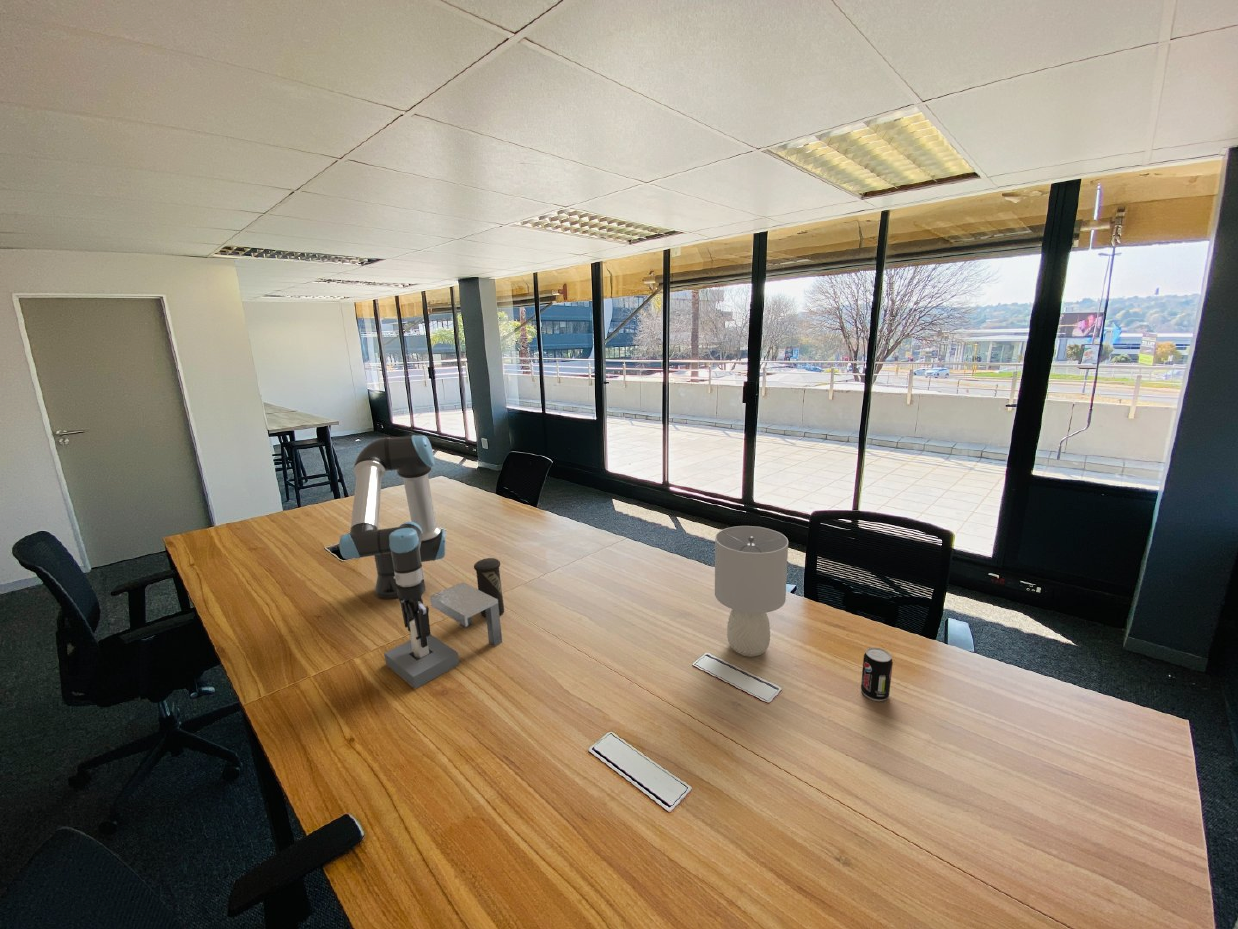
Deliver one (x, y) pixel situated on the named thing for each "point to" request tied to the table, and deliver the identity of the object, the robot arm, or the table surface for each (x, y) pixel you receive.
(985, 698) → the table surface
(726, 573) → the lamp
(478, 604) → the grey legged flat piece
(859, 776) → the table surface
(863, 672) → the beverage can
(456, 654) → the socket block
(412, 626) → the peg
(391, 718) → the table surface
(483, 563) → the container
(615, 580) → the table surface
